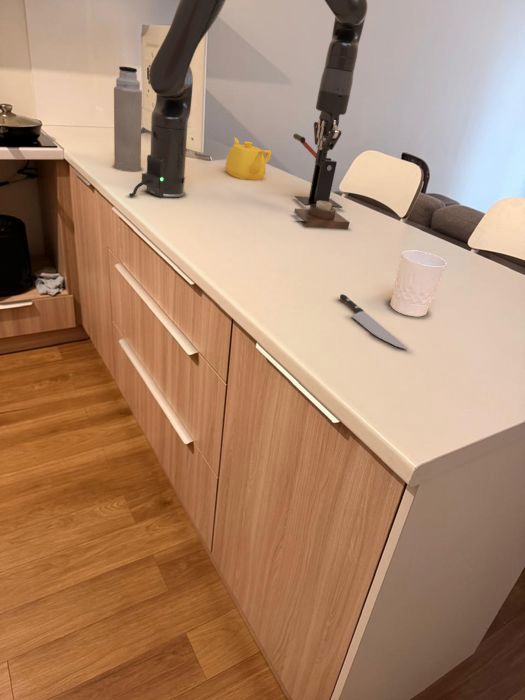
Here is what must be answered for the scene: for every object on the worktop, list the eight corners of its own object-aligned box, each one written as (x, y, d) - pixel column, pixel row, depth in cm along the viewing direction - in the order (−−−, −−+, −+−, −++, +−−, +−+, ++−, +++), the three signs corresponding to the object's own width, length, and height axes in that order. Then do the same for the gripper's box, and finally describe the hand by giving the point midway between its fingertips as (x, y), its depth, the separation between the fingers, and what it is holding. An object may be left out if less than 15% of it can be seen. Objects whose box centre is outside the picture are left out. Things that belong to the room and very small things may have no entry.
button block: (306, 227, 130) (309, 212, 128) (293, 215, 138) (296, 200, 136) (347, 229, 134) (351, 214, 132) (333, 217, 142) (336, 203, 140)
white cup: (381, 297, 97) (396, 247, 92) (420, 301, 98) (436, 252, 93) (394, 316, 90) (410, 263, 85) (435, 320, 91) (454, 268, 86)
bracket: (304, 208, 147) (313, 160, 140) (294, 199, 154) (302, 154, 147) (341, 210, 150) (351, 164, 144) (330, 202, 158) (339, 157, 151)
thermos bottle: (123, 163, 163) (123, 65, 149) (145, 168, 162) (147, 69, 148) (109, 167, 157) (108, 64, 143) (132, 172, 155) (132, 68, 141)
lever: (298, 141, 138) (304, 134, 137) (291, 137, 143) (296, 130, 142) (329, 174, 145) (335, 168, 145) (321, 169, 150) (327, 163, 149)
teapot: (283, 184, 170) (288, 150, 165) (241, 183, 163) (245, 147, 158) (253, 168, 186) (257, 137, 181) (215, 166, 179) (218, 134, 174)
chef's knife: (392, 354, 78) (408, 351, 79) (394, 348, 78) (409, 345, 79) (329, 299, 92) (342, 297, 94) (330, 294, 92) (343, 292, 93)
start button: (318, 211, 132) (320, 204, 131) (313, 206, 135) (314, 200, 135) (332, 211, 133) (334, 205, 133) (326, 207, 137) (328, 201, 136)
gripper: (310, 85, 126) (297, 158, 134) (331, 91, 115) (315, 170, 124) (338, 90, 128) (323, 161, 137) (360, 96, 117) (343, 172, 126)
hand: (319, 165), depth 130 cm, fingers closed
